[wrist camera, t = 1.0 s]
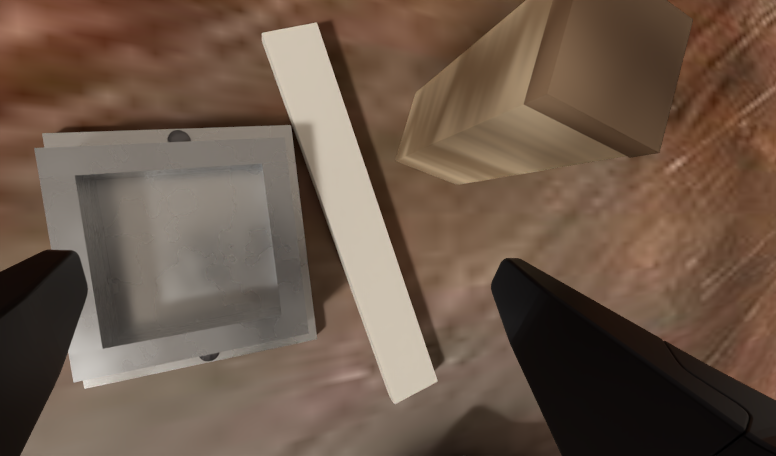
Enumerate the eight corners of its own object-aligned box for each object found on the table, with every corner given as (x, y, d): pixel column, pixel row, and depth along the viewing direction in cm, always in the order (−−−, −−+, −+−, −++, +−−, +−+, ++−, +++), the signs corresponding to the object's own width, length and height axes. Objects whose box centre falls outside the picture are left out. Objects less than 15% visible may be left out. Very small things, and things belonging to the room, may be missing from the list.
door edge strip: (430, 374, 24) (437, 381, 23) (389, 396, 23) (394, 404, 22) (314, 31, 21) (316, 22, 20) (262, 41, 20) (261, 33, 19)
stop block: (457, 185, 24) (659, 152, 12) (394, 161, 23) (547, 93, 10) (476, 119, 24) (693, 19, 12) (415, 91, 23) (588, -56, 10)
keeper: (315, 335, 21) (322, 351, 19) (90, 383, 18) (62, 409, 15) (290, 127, 21) (293, 115, 18) (49, 136, 17) (12, 122, 15)
